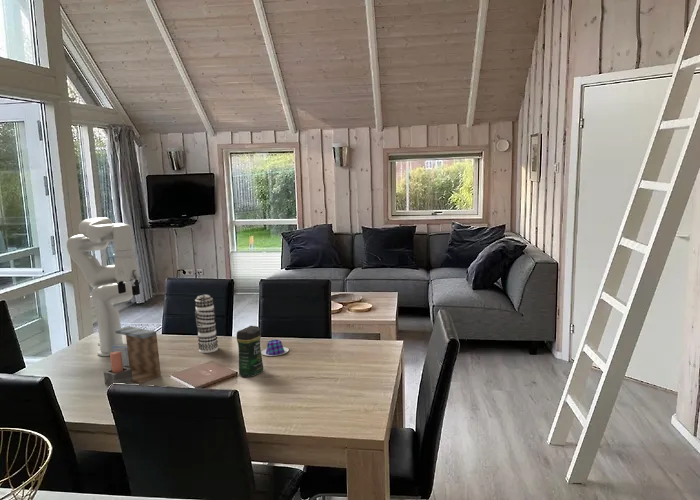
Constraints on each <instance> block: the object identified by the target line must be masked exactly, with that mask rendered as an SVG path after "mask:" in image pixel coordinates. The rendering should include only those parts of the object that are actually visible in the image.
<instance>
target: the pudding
mask: <svg viewBox="0 0 700 500" xmlns="http://www.w3.org/2000/svg"><path fill="white" fill-rule="evenodd" d="M288 352H289V348H288V347H285V346H283V342H282V341H281V339H271V340H269V341H268V342H267V343H266V348H264V349H263V350H261V355H262V356H263V355H264V356H267V357H268V356H270V357H273V356H274V357H276V356H282V355H284V354H286V353H288Z"/></svg>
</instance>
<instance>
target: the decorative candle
mask: <svg viewBox="0 0 700 500" xmlns="http://www.w3.org/2000/svg"><path fill="white" fill-rule="evenodd" d="M194 301H195V302H194V303H195V311H194V317H195V322H196V323H195V325H196V327H197V341H198V344H197V345H198V349H199V350H198V352H199V353H202V354H203V353H204V354H206V353H207V354H208V353H213V352H217V351H218V350H219V347H218V346H219V344H218V340H217V339H218V337H217V336H218V333H217V329H216V324H217V321H215V320H216V319H217V317H216V315H217V314H216V313H215V312H216V311H217V310H216V309H215V308H216V306H215V305H214V298H213V297H212V296H211V295H210V294H202V295H197V296H196V298H195V299H194Z"/></svg>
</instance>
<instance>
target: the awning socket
mask: <svg viewBox="0 0 700 500" xmlns="http://www.w3.org/2000/svg"><path fill="white" fill-rule="evenodd" d="M115 333H117V334H122V336H125V337H126V339H125V340H126V344H127V349H128V358H129V367H127V366H123V371H121V372H119V373H116V374H115V373H112V368H110V369H108V370H106V371H103V377H104V383H105V386H106V385H107V386H109V387H111V386H110V385H111V384H113V383H126V384H128V383H129V384H130V383H136V384H138V385H141V384H143V383H146V382H148V381H150V380H153V379H155V378H158V377H160V376H161V372H162V371H161V365H160V354H159V353H160V352H159V345H158V336H157V335H158V334H157V331H155V330H150V329H145V328H140V327H134V326H125V327H121V329H118V330H115Z"/></svg>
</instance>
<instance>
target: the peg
mask: <svg viewBox="0 0 700 500" xmlns="http://www.w3.org/2000/svg"><path fill="white" fill-rule="evenodd" d="M109 357H110V367H111V369H112V373H115V374H116V373H119V372H121V371H123V367H124V366H123V364H122V356H121V352H120V351H116V352H112V353H110V356H109Z"/></svg>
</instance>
